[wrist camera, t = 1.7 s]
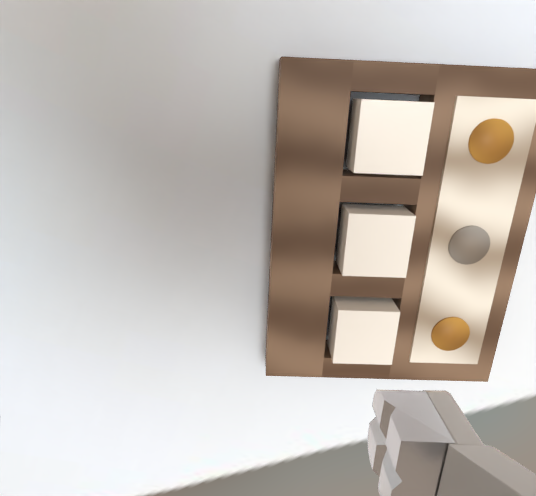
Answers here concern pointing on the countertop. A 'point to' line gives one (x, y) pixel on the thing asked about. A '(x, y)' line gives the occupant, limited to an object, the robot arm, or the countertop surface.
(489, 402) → the countertop surface
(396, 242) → the button middle
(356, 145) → the button
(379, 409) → the robot arm
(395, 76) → the button board
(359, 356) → the button
